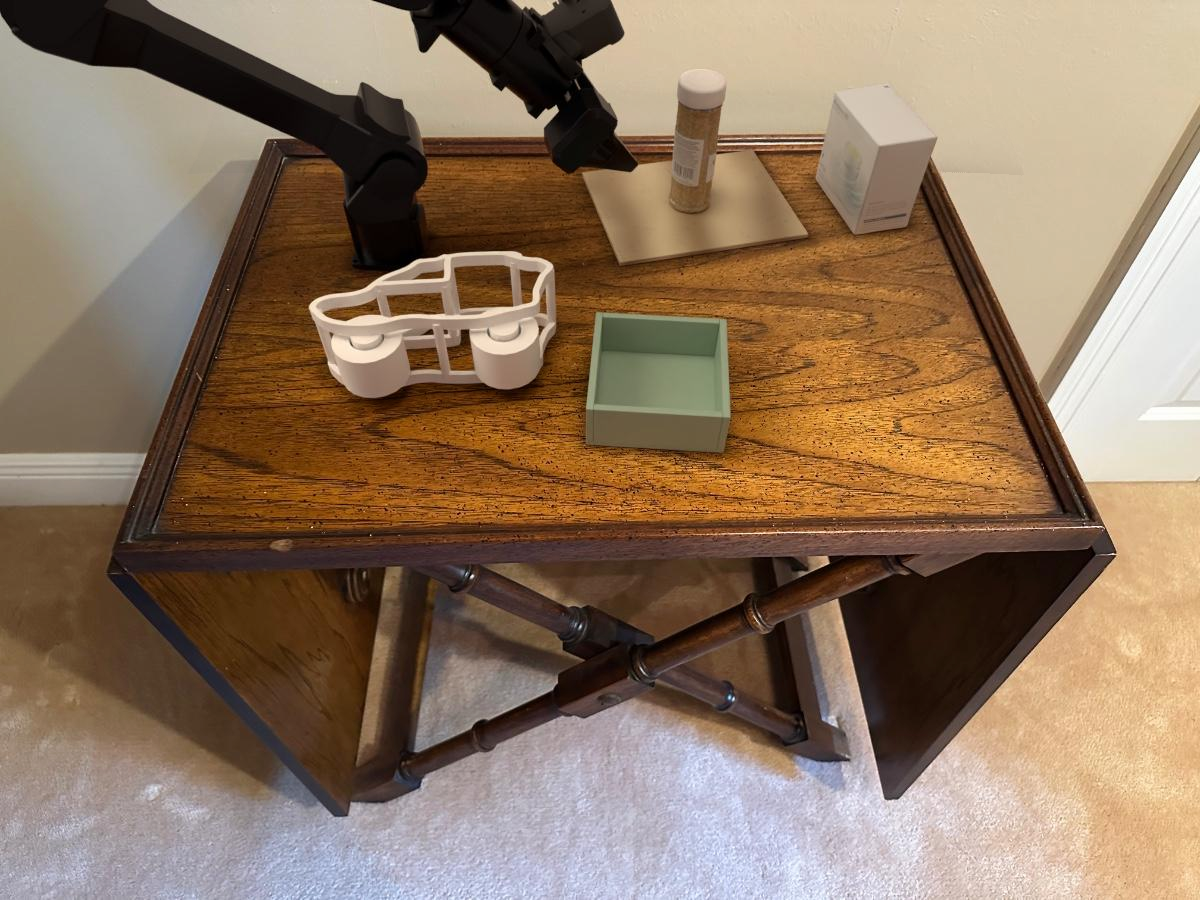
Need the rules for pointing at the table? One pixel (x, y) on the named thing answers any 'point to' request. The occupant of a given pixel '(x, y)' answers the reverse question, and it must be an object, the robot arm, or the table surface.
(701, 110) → the sprinkles bottle
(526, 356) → the car outline toy
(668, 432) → the bin
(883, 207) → the cosmetics box
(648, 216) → the mat
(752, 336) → the table surface
